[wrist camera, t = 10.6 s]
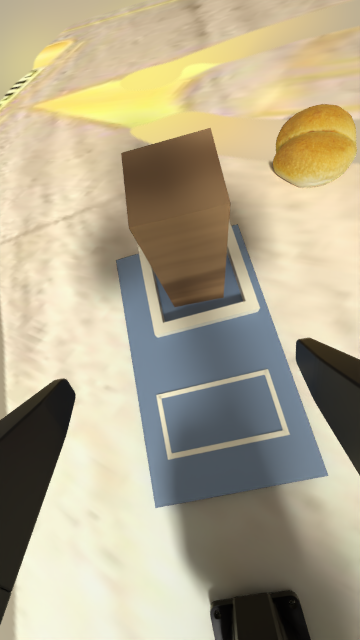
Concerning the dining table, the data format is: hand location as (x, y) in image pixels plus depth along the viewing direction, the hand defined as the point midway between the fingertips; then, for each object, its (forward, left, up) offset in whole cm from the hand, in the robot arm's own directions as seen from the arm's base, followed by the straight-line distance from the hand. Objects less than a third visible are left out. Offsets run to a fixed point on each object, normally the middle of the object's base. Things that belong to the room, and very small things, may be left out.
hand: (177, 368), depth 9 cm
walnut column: (+9, -2, -13) cm, 16 cm away
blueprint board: (+3, -1, -14) cm, 14 cm away
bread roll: (+21, -18, -14) cm, 31 cm away
